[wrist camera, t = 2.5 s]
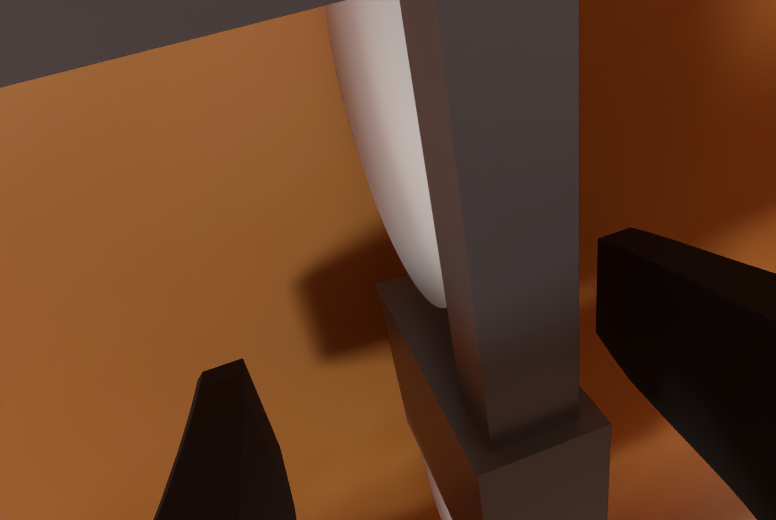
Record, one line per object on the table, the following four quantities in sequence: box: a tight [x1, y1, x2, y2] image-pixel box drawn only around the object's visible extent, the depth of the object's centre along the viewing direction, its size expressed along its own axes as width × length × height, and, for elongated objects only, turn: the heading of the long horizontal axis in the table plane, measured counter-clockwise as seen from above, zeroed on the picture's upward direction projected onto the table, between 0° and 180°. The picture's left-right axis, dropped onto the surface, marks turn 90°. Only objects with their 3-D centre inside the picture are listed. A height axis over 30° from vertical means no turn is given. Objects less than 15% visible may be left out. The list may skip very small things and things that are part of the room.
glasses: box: [0, 0, 611, 520], centre depth 8 cm, size 10×14×5 cm
